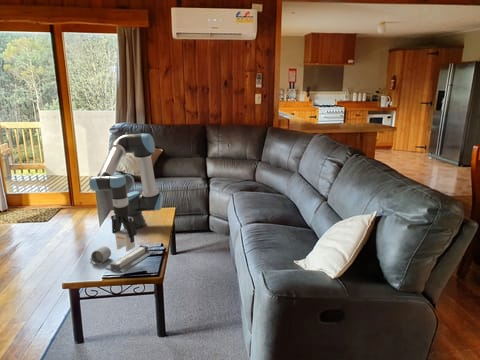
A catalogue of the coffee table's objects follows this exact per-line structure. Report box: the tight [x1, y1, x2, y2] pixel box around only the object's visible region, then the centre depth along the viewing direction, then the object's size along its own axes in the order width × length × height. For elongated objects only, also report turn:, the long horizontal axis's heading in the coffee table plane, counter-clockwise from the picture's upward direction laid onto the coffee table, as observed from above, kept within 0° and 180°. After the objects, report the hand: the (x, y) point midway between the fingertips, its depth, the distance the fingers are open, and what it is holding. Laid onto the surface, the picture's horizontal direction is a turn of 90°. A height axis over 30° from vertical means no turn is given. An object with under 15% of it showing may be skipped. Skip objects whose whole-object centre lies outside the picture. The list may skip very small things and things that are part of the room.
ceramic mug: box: [89, 246, 112, 265], centre depth 188 cm, size 11×8×8 cm
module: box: [114, 228, 136, 252], centre depth 183 cm, size 6×7×10 cm
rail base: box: [105, 244, 154, 273], centre depth 188 cm, size 24×12×4 cm, turn 156°
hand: (126, 246), depth 184 cm, fingers closed on module, 7 cm apart
